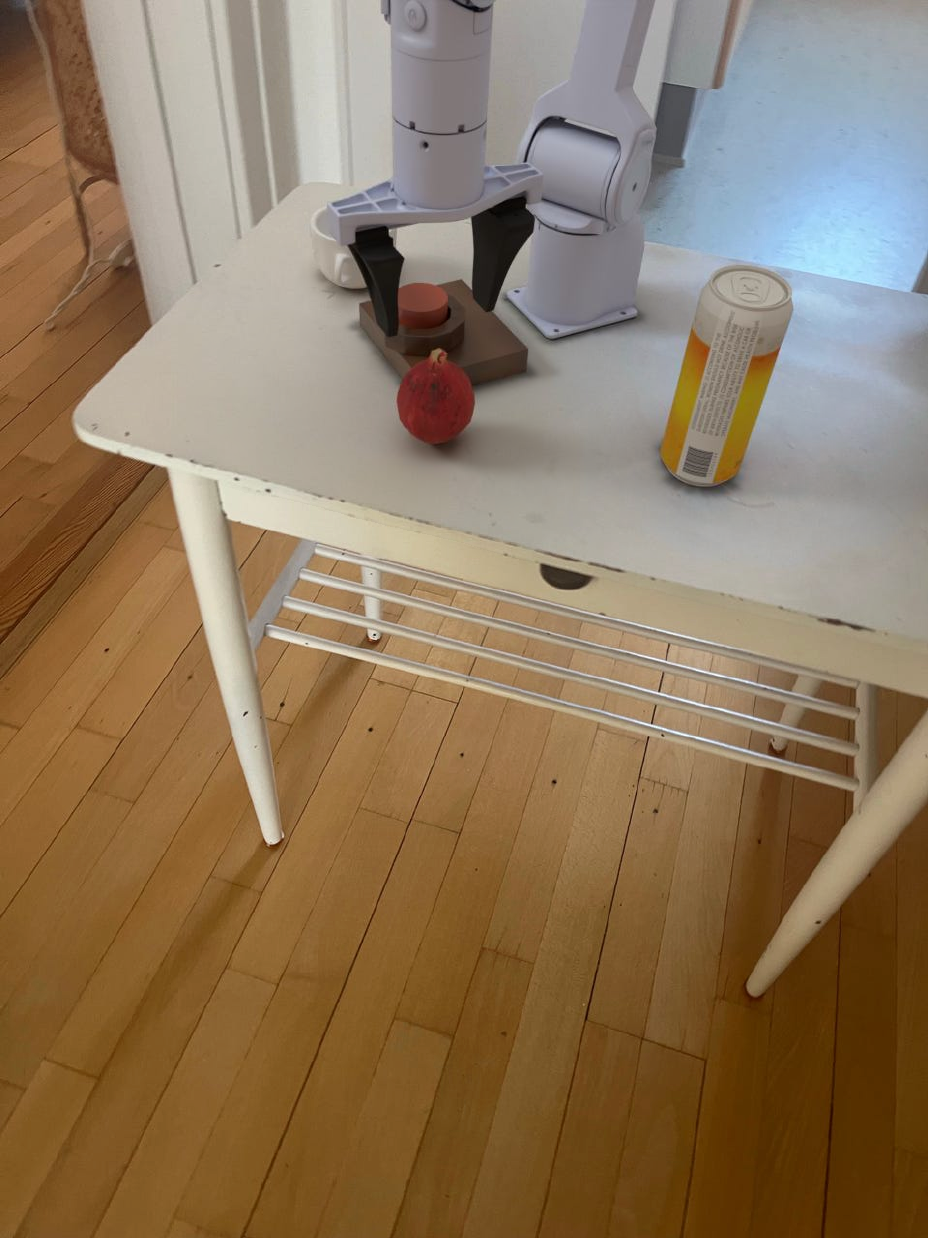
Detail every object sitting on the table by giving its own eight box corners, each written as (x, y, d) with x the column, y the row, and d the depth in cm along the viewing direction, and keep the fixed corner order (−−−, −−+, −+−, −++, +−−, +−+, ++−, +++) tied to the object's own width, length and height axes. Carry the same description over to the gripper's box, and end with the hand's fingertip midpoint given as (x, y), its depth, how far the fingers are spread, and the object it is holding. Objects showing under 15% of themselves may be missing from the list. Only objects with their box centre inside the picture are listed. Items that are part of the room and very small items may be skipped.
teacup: (326, 250, 91) (322, 195, 87) (405, 260, 91) (404, 205, 87) (297, 305, 85) (292, 248, 81) (381, 316, 84) (380, 259, 80)
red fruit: (465, 470, 71) (470, 381, 65) (390, 460, 72) (388, 370, 66) (477, 423, 75) (483, 334, 69) (405, 413, 75) (405, 324, 69)
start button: (432, 296, 80) (433, 277, 79) (456, 323, 78) (457, 304, 76) (385, 308, 79) (384, 289, 77) (407, 335, 76) (407, 316, 75)
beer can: (739, 447, 74) (798, 269, 63) (736, 498, 71) (798, 317, 59) (662, 434, 75) (706, 255, 64) (654, 483, 71) (700, 301, 60)
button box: (460, 300, 87) (462, 259, 84) (526, 371, 80) (530, 329, 77) (352, 327, 83) (350, 285, 80) (411, 403, 76) (411, 360, 73)
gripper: (511, 73, 62) (497, 267, 72) (301, 107, 57) (319, 311, 67) (569, 115, 58) (545, 315, 68) (348, 156, 53) (359, 364, 63)
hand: (436, 316), depth 67 cm, fingers open, 7 cm apart
